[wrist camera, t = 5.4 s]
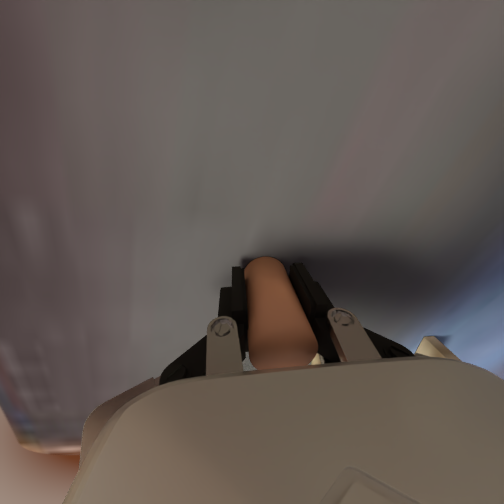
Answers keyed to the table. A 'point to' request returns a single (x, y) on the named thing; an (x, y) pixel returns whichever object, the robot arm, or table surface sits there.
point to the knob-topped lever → (276, 318)
